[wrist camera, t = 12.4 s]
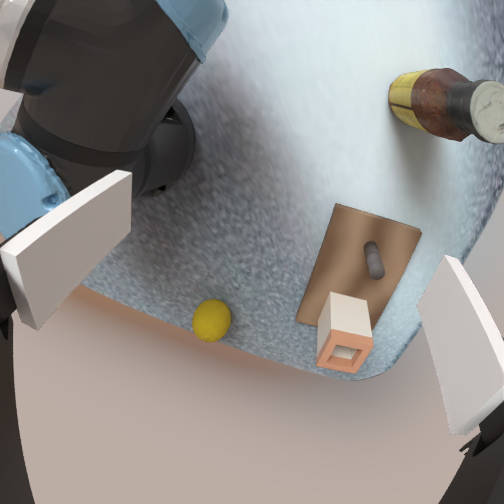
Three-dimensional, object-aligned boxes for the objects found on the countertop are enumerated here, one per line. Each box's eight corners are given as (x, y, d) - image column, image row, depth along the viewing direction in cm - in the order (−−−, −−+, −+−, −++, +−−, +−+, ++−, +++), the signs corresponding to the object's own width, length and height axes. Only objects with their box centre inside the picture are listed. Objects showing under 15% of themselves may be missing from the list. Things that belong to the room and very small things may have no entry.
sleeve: (317, 320, 47) (316, 366, 39) (330, 291, 44) (331, 337, 36) (352, 328, 47) (355, 373, 39) (366, 300, 44) (373, 346, 36)
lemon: (195, 296, 50) (177, 330, 43) (222, 283, 48) (206, 319, 41) (215, 320, 52) (202, 356, 45) (243, 309, 50) (231, 346, 43)
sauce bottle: (438, 120, 31) (536, 167, 14) (391, 127, 33) (463, 178, 16) (427, 67, 28) (526, 68, 11) (378, 73, 30) (447, 69, 13)
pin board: (295, 315, 49) (292, 350, 43) (335, 203, 39) (339, 228, 33) (367, 332, 48) (371, 366, 42) (419, 229, 38) (436, 257, 32)
